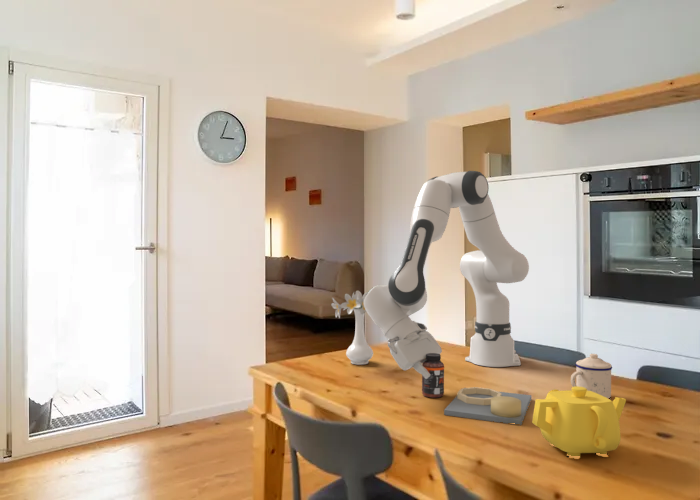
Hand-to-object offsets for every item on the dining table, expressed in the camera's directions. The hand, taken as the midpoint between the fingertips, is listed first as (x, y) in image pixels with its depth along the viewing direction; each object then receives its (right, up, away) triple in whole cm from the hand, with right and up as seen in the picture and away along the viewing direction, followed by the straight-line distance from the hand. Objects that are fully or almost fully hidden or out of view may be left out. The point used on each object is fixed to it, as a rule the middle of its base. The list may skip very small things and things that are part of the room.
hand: (435, 374), depth 148 cm
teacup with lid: (+42, -6, -1) cm, 42 cm away
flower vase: (-20, -5, +39) cm, 44 cm away
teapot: (+23, -7, -37) cm, 44 cm away
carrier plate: (+12, -6, -10) cm, 17 cm away
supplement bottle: (-1, -6, 0) cm, 6 cm away
